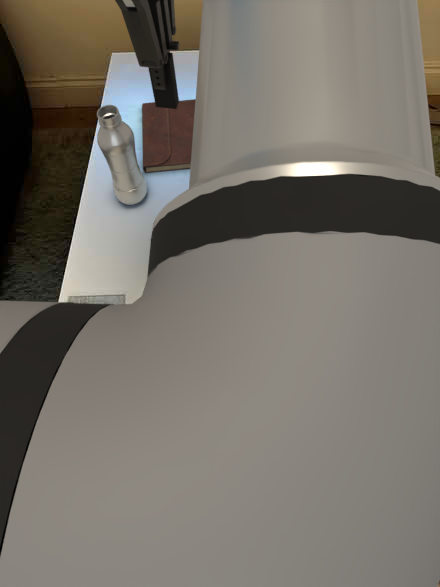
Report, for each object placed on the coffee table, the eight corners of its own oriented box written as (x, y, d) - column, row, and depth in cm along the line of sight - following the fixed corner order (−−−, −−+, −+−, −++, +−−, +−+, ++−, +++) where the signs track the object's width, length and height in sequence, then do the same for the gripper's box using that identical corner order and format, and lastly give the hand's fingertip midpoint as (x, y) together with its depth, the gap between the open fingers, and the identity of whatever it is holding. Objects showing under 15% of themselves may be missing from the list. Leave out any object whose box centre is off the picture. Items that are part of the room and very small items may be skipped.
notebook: (207, 104, 103) (207, 96, 101) (215, 166, 93) (215, 158, 92) (142, 110, 103) (141, 102, 101) (143, 173, 93) (142, 166, 91)
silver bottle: (112, 207, 89) (82, 124, 71) (122, 182, 92) (94, 97, 75) (144, 210, 88) (121, 128, 71) (152, 185, 91) (132, 100, 74)
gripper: (151, -107, 33) (184, 142, 54) (189, -171, 39) (206, 74, 60) (55, -110, 34) (124, 136, 55) (107, -173, 40) (152, 70, 61)
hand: (167, 104), depth 57 cm, fingers closed
